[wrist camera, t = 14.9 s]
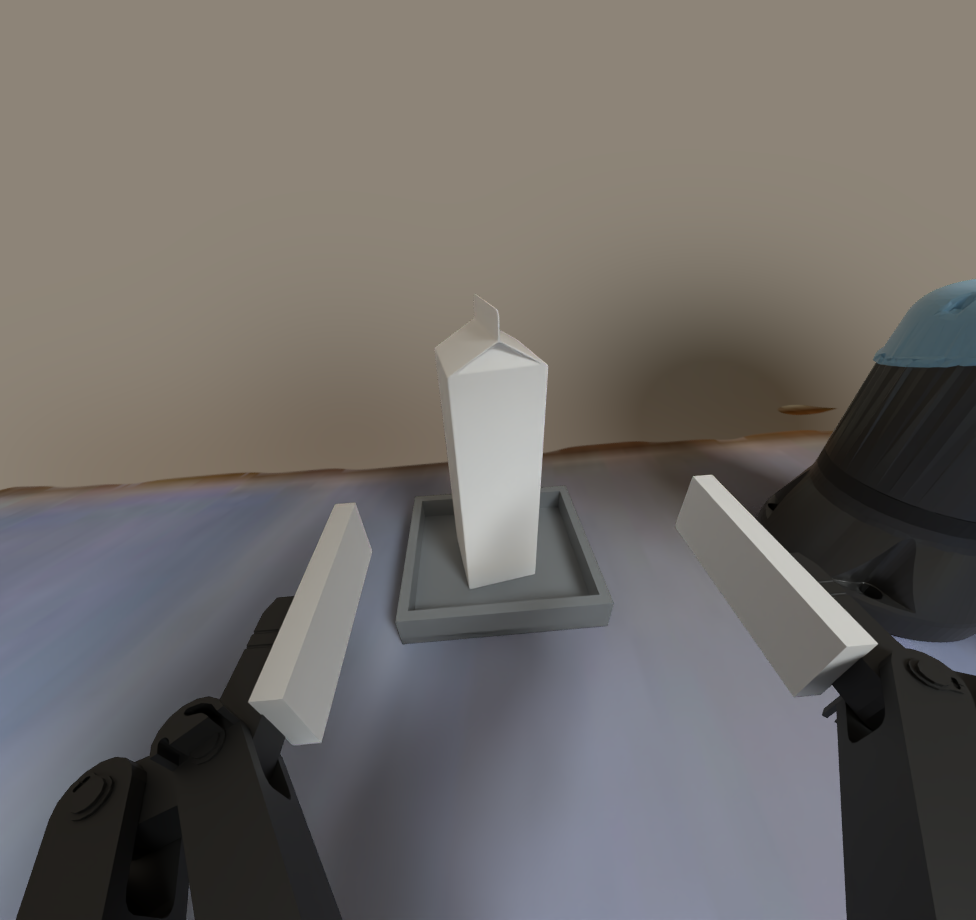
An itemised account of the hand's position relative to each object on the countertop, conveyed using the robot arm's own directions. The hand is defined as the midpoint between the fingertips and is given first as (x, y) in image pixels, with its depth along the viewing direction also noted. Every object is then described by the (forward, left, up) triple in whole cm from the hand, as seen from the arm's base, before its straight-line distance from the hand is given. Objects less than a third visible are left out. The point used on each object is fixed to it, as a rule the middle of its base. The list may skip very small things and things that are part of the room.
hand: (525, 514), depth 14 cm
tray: (0, -12, -17) cm, 20 cm away
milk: (+1, -12, -16) cm, 20 cm away
